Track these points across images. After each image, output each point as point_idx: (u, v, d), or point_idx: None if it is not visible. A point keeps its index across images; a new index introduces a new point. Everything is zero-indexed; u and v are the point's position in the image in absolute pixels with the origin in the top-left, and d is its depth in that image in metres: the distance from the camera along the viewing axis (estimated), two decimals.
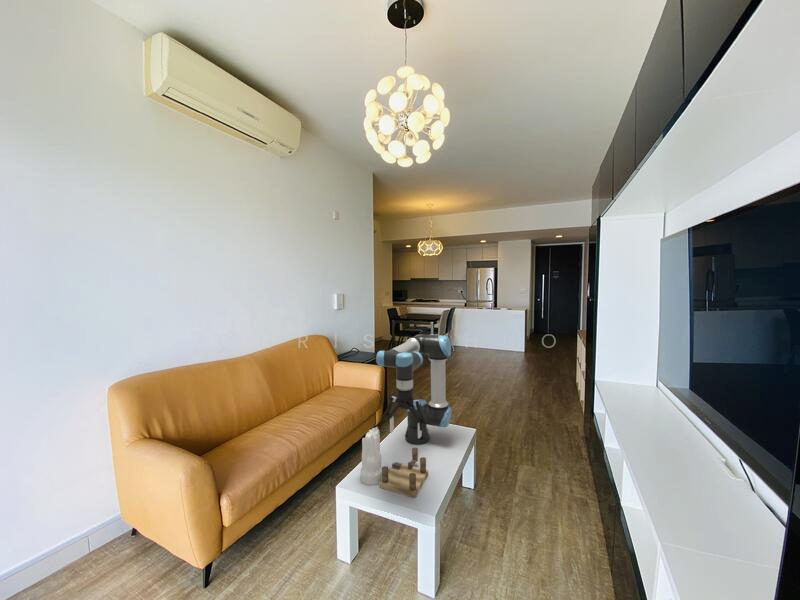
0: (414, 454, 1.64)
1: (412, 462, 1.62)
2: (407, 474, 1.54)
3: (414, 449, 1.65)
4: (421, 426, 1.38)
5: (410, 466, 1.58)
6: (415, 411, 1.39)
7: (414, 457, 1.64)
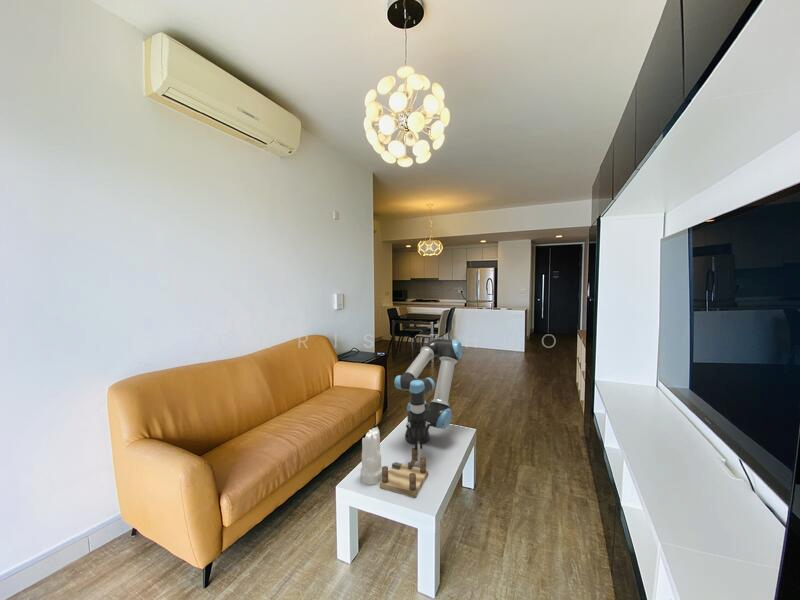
0: (414, 454, 1.64)
1: (412, 462, 1.62)
2: (407, 474, 1.54)
3: (414, 449, 1.65)
4: None
5: (410, 466, 1.58)
6: (414, 432, 1.65)
7: (414, 457, 1.64)
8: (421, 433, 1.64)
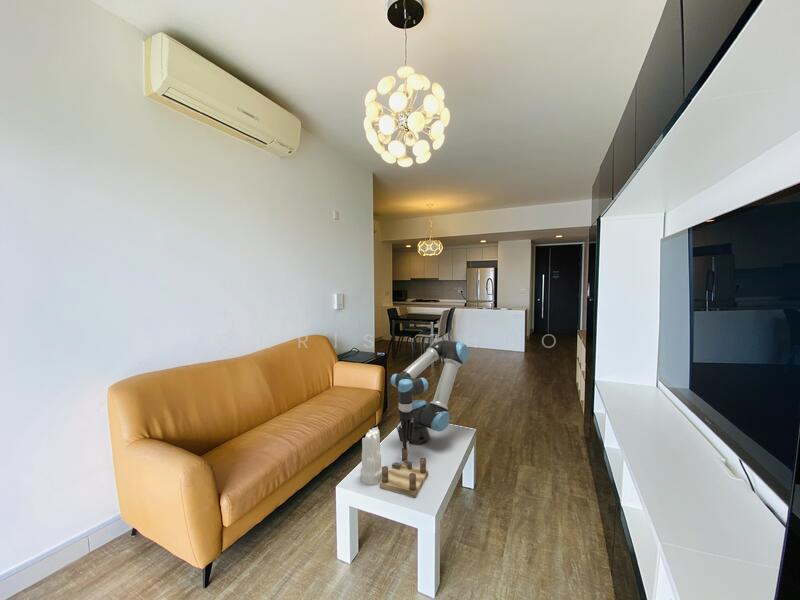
0: (406, 454, 1.64)
1: (408, 462, 1.62)
2: (407, 474, 1.54)
3: (404, 449, 1.65)
4: None
5: (411, 465, 1.59)
6: (403, 431, 1.65)
7: (406, 457, 1.64)
8: (409, 430, 1.67)
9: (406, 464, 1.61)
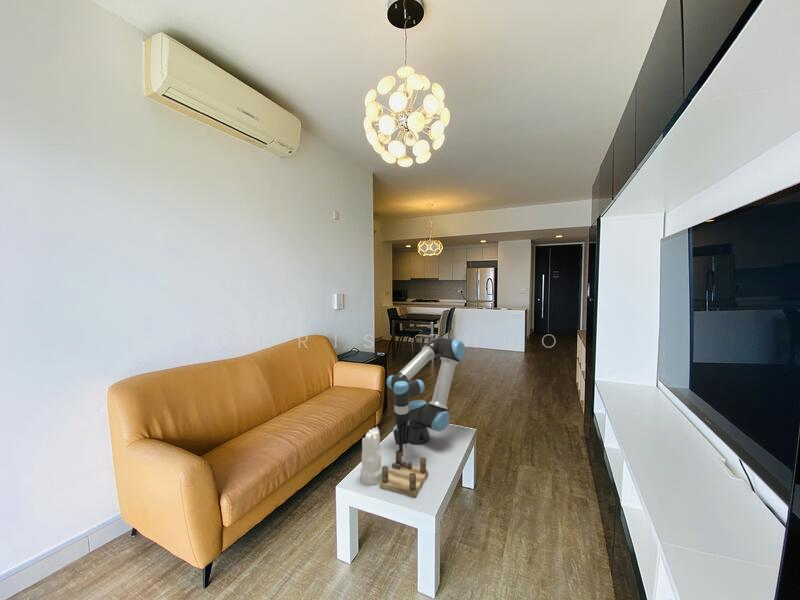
0: (401, 456, 1.62)
1: (405, 463, 1.61)
2: (407, 474, 1.54)
3: (399, 452, 1.63)
4: None
5: (411, 465, 1.59)
6: (399, 434, 1.63)
7: (401, 459, 1.62)
8: (406, 433, 1.64)
9: (405, 465, 1.60)
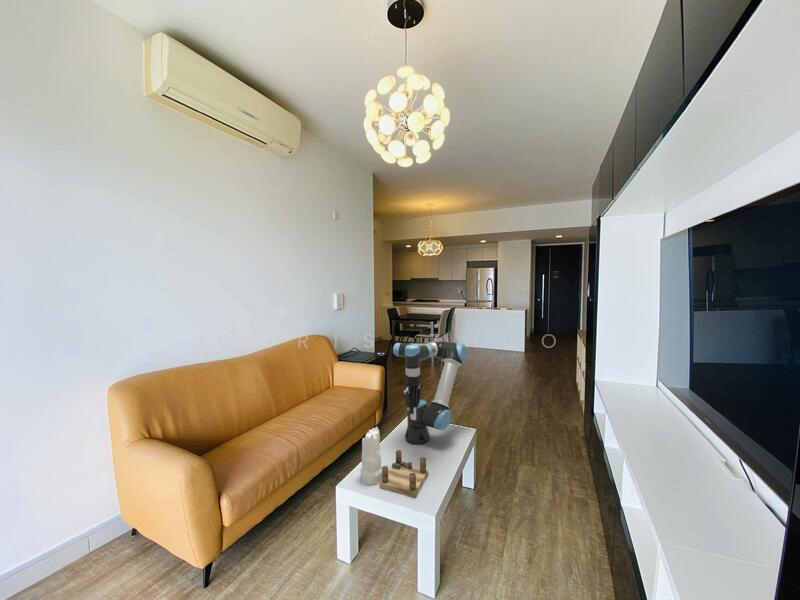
0: (401, 456, 1.62)
1: (405, 463, 1.61)
2: (407, 474, 1.54)
3: (399, 452, 1.63)
4: None
5: (411, 465, 1.59)
6: (410, 397, 1.64)
7: (401, 459, 1.62)
8: (416, 396, 1.65)
9: (405, 465, 1.60)
